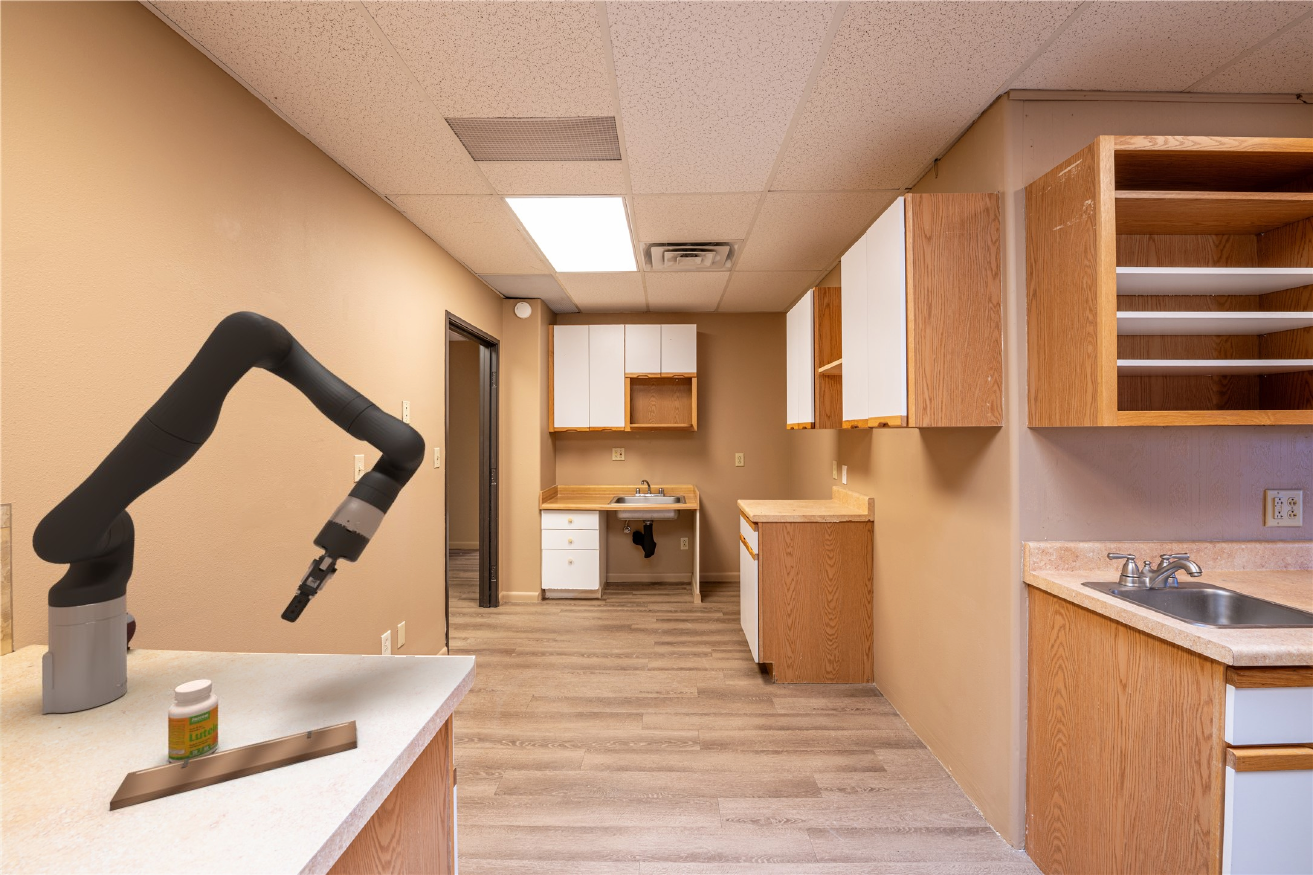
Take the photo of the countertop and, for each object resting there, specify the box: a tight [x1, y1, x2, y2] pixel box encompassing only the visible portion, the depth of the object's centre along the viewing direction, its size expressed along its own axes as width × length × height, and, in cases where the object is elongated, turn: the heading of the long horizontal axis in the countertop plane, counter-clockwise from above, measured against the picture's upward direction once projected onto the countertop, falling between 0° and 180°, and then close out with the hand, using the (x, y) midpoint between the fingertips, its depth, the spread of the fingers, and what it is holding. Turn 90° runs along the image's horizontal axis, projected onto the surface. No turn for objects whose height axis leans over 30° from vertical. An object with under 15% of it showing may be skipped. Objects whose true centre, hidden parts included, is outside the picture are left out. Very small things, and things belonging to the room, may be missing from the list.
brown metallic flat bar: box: [109, 719, 358, 811], centre depth 74 cm, size 26×6×1 cm, turn 120°
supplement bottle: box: [167, 678, 219, 763], centre depth 77 cm, size 5×5×10 cm
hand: (288, 619), depth 86 cm, fingers open, 8 cm apart
